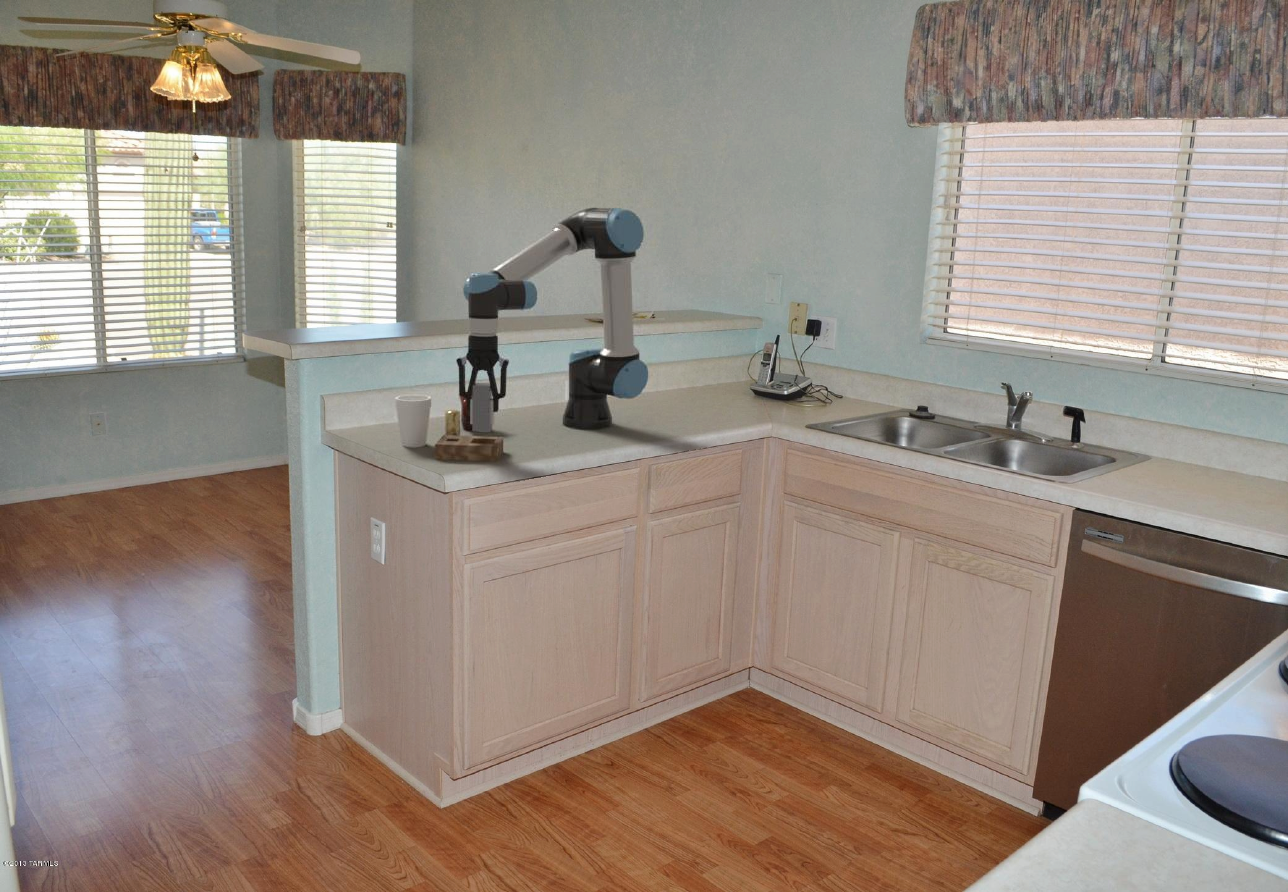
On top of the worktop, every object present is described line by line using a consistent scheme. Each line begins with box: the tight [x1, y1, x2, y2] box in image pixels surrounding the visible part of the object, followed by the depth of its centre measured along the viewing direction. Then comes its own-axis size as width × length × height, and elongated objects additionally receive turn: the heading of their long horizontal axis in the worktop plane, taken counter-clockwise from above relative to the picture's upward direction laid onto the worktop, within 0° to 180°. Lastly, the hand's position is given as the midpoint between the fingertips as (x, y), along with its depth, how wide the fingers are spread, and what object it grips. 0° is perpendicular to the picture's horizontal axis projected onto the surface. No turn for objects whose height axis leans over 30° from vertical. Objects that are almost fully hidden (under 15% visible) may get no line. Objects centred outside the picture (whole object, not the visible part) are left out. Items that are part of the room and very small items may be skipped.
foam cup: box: [394, 394, 432, 448], centre depth 281 cm, size 10×9×13 cm
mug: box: [458, 394, 473, 431], centre depth 302 cm, size 12×9×10 cm
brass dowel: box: [444, 409, 461, 436], centre depth 284 cm, size 4×4×9 cm
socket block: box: [434, 434, 504, 462], centre depth 272 cm, size 16×11×4 cm
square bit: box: [471, 382, 493, 433], centre depth 269 cm, size 4×4×12 cm
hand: (482, 423), depth 270 cm, fingers closed on square bit, 4 cm apart
